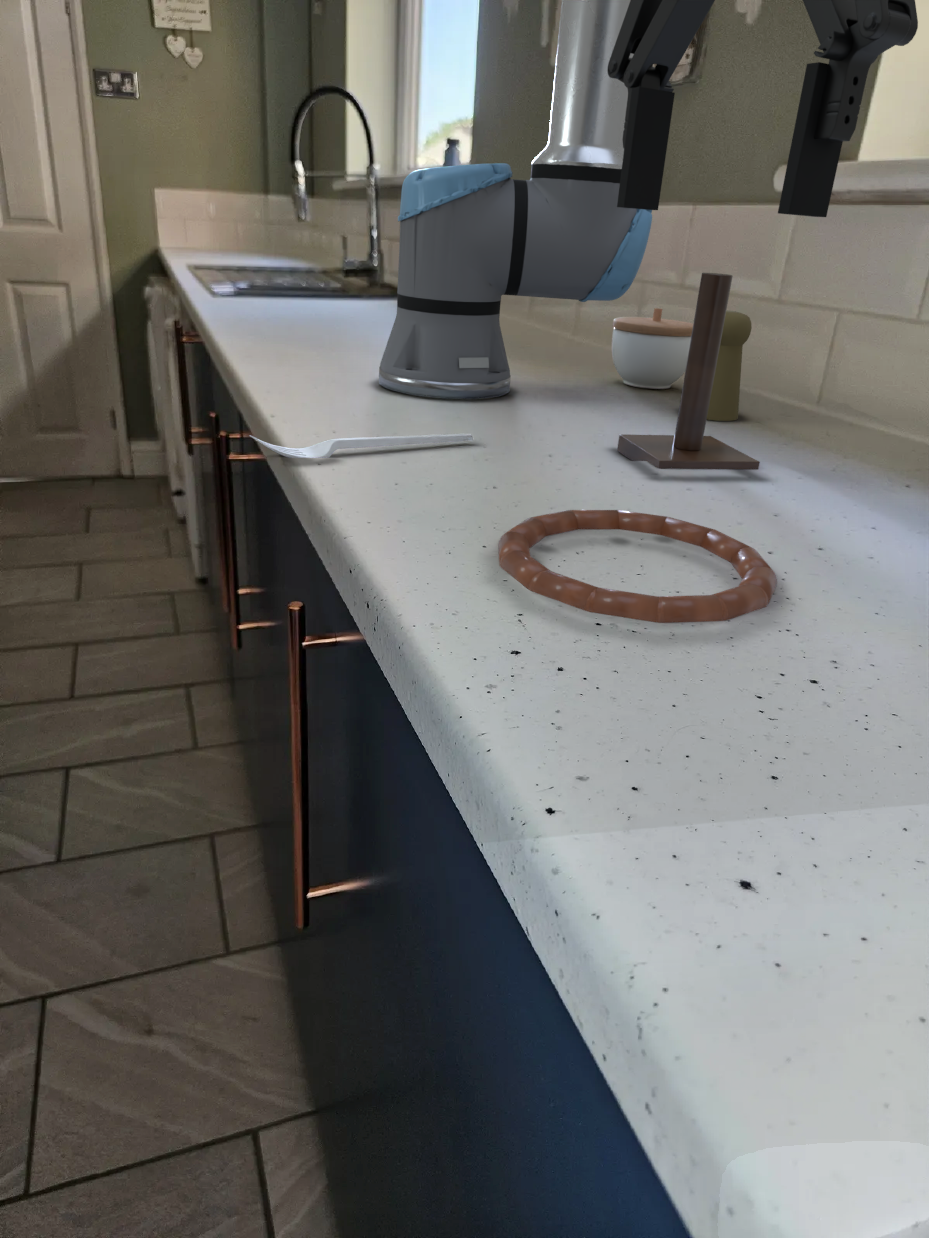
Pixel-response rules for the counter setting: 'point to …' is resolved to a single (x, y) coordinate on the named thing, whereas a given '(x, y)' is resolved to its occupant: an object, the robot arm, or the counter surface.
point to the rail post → (694, 396)
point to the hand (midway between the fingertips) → (710, 212)
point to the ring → (658, 609)
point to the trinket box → (650, 350)
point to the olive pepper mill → (729, 368)
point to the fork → (361, 444)
